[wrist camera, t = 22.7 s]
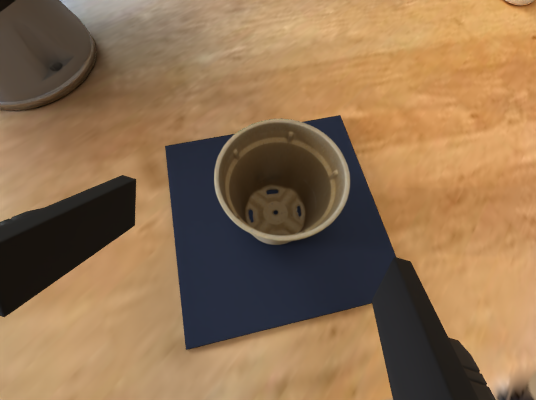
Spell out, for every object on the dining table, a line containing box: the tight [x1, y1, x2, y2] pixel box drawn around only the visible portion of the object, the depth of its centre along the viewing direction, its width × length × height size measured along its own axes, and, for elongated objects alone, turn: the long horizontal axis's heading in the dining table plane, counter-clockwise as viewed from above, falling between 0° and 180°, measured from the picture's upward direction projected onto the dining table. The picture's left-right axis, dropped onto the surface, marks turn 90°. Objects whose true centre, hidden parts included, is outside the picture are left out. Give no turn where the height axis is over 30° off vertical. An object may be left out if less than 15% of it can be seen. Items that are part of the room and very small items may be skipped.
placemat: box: [165, 115, 396, 350], centre depth 27 cm, size 20×20×1 cm
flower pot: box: [214, 119, 350, 245], centre depth 23 cm, size 9×9×9 cm
